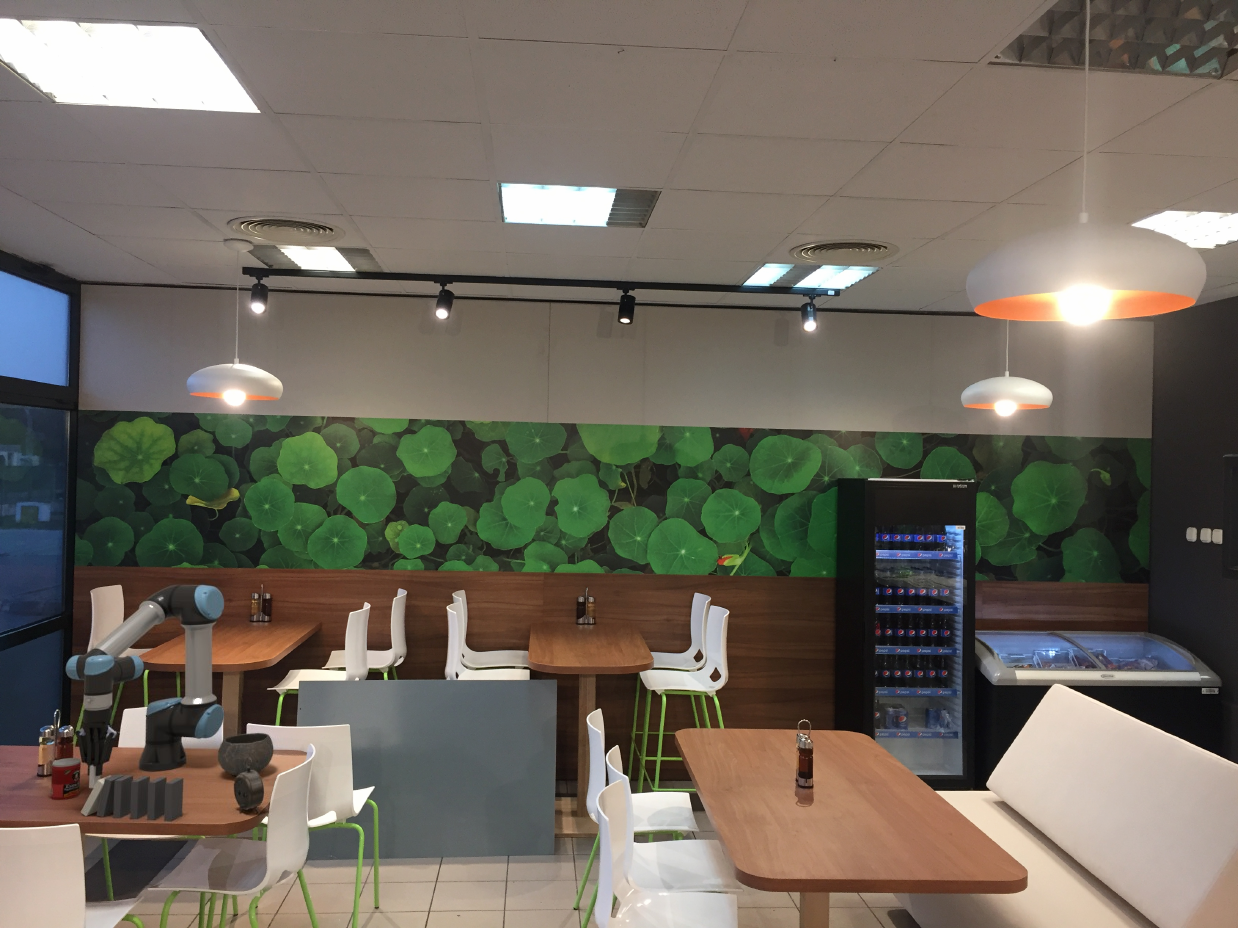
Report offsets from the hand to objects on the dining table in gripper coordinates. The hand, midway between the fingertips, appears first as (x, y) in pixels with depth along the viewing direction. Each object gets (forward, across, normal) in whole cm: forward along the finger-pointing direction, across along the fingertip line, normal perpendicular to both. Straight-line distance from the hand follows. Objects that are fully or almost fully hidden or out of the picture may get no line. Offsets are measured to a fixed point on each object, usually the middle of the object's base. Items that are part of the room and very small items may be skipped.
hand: (94, 786), depth 263 cm
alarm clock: (+8, +44, +9) cm, 46 cm away
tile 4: (+8, +15, 0) cm, 17 cm away
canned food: (+8, -20, +12) cm, 25 cm away
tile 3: (+8, +10, 0) cm, 13 cm away
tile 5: (+8, +21, 0) cm, 22 cm away
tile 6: (+8, +26, 0) cm, 27 cm away
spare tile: (+7, -1, 0) cm, 8 cm away
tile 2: (+8, +4, 0) cm, 9 cm away
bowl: (+8, +23, +43) cm, 50 cm away
